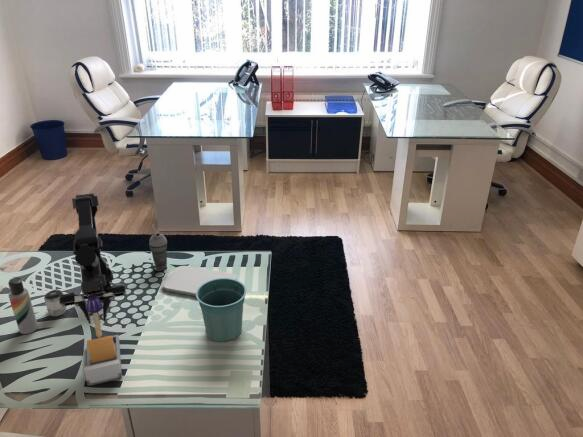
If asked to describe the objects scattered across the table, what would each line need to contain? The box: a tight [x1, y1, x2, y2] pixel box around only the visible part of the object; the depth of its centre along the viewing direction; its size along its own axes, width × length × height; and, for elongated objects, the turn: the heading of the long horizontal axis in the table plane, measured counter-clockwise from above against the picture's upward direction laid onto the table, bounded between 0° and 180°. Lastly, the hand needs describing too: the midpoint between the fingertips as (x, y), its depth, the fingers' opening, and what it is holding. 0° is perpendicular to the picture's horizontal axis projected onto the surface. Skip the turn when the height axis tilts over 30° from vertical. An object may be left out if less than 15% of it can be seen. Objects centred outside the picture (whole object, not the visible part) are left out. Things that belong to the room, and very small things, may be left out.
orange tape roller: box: [83, 334, 123, 387], centre depth 148 cm, size 18×10×6 cm, turn 20°
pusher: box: [86, 335, 116, 363], centre depth 147 cm, size 1×7×8 cm, turn 110°
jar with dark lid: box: [43, 289, 67, 317], centre depth 169 cm, size 6×6×8 cm
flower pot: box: [195, 278, 247, 342], centre depth 160 cm, size 16×16×16 cm
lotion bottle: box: [7, 277, 39, 335], centre depth 158 cm, size 6×6×20 cm
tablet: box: [162, 265, 237, 297], centre depth 187 cm, size 16×26×2 cm, turn 75°
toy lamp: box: [86, 295, 108, 339], centre depth 147 cm, size 5×5×17 cm
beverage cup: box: [148, 224, 168, 271], centre depth 193 cm, size 7×7×20 cm
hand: (97, 322), depth 146 cm, fingers closed on toy lamp, 4 cm apart
